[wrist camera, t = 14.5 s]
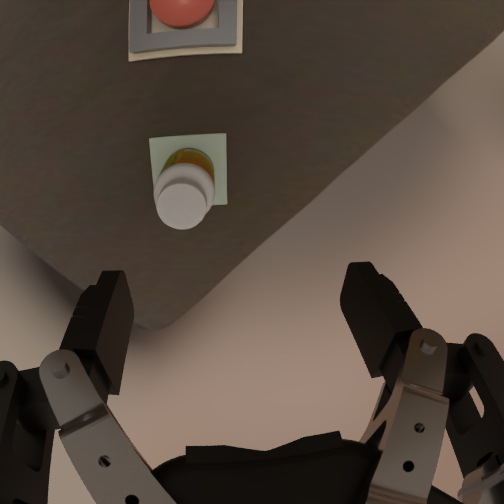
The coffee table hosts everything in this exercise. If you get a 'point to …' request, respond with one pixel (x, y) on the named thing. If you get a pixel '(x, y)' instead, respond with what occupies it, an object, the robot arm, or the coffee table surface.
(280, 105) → the coffee table surface
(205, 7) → the dome button
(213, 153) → the mat
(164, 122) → the coffee table surface
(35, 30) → the coffee table surface
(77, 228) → the coffee table surface
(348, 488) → the robot arm
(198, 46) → the dome console
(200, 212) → the supplement bottle
